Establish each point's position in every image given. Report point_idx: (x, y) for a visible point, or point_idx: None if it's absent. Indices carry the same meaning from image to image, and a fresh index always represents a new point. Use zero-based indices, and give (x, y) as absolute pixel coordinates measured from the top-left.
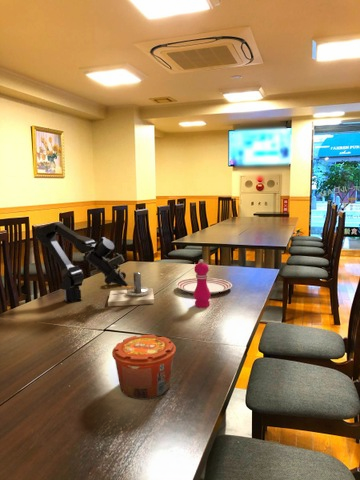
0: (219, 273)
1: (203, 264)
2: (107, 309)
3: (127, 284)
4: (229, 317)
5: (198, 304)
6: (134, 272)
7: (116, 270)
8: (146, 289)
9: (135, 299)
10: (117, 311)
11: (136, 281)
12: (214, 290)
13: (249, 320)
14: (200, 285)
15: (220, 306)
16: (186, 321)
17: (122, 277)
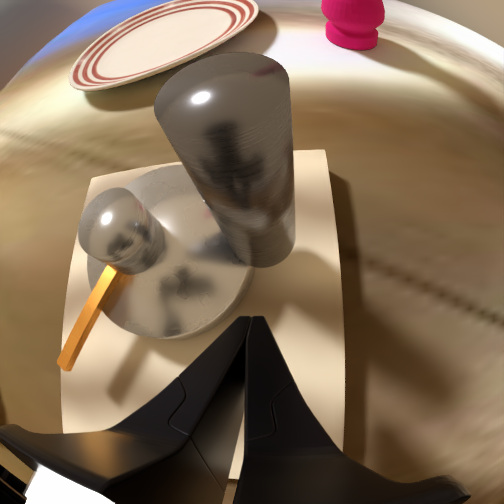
0: (49, 60)
1: None
2: (400, 455)
3: (254, 316)
4: (439, 31)
5: (375, 39)
6: (162, 126)
7: (31, 500)
8: (184, 177)
9: (320, 268)
10: (450, 382)
11: (292, 176)
12: (199, 19)
13: (444, 20)
14: None
15: None
16: (501, 103)
17: (186, 392)
